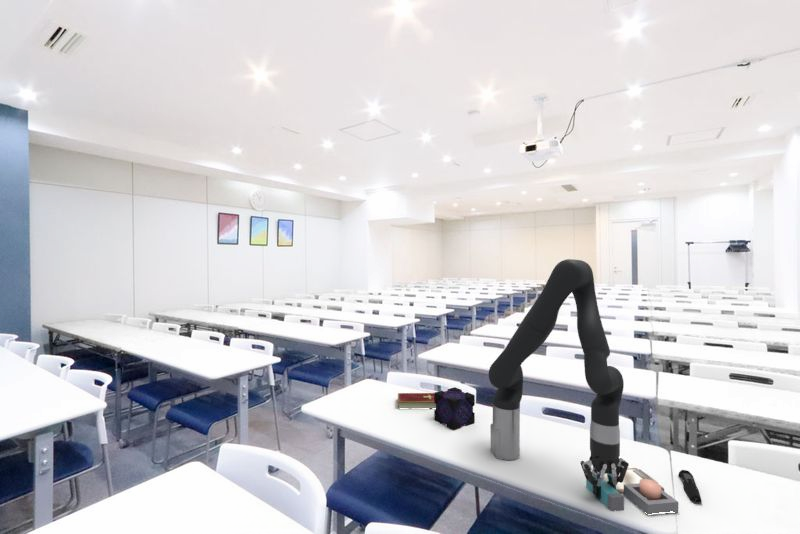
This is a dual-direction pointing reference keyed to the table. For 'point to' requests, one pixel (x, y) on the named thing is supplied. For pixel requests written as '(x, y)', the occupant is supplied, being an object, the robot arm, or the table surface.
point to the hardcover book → (416, 400)
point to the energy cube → (454, 408)
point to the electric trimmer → (690, 485)
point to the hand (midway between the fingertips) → (604, 496)
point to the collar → (653, 505)
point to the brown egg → (650, 489)
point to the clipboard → (631, 478)
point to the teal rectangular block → (609, 496)
